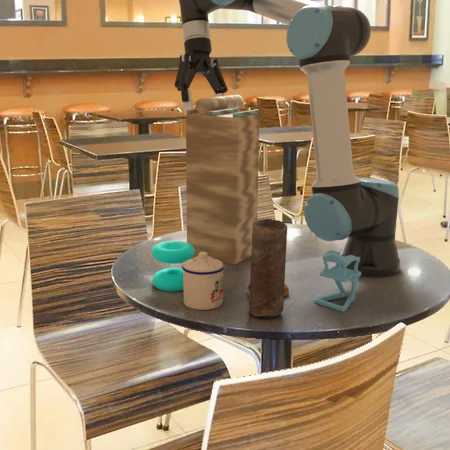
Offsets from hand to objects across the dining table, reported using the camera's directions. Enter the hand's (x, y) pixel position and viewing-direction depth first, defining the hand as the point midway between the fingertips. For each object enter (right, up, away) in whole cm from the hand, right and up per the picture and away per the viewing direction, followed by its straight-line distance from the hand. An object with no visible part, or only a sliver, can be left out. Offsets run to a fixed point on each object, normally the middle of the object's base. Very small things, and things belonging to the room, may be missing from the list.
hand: (205, 115), depth 184 cm
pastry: (+15, -47, -33) cm, 60 cm away
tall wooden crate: (+5, -39, -4) cm, 39 cm away
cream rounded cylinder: (+4, 0, -8) cm, 10 cm away
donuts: (-7, -45, -28) cm, 54 cm away
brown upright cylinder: (+14, -50, -45) cm, 68 cm away
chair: (+31, -48, -38) cm, 69 cm away
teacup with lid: (+1, -48, -37) cm, 61 cm away
